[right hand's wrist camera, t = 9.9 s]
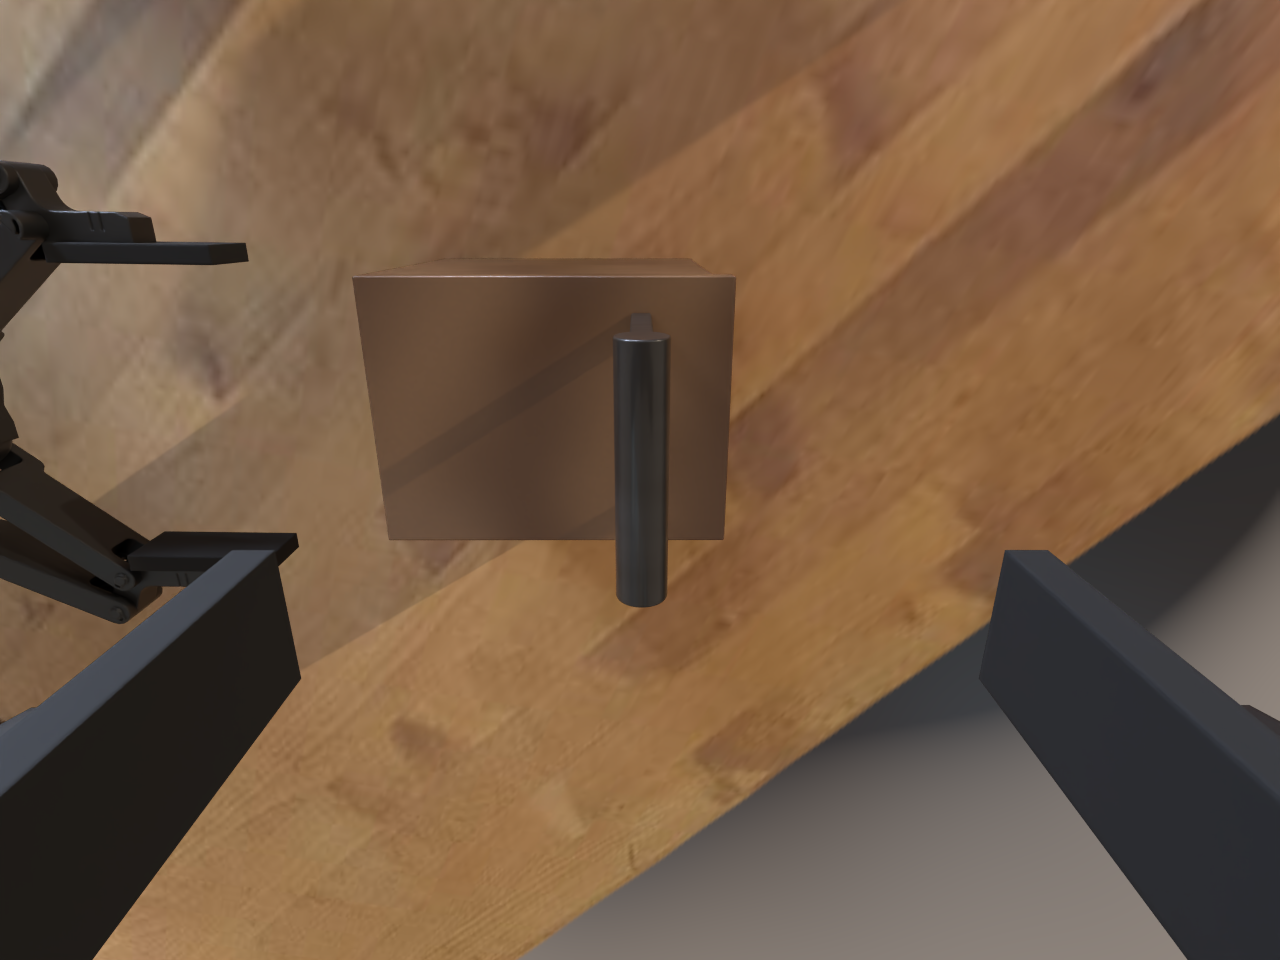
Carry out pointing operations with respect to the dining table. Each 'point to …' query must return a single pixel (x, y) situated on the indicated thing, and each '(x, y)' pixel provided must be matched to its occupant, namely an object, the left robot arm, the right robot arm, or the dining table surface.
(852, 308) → the dining table surface
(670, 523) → the lid
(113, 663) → the right robot arm
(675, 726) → the dining table surface
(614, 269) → the chest
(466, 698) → the dining table surface
